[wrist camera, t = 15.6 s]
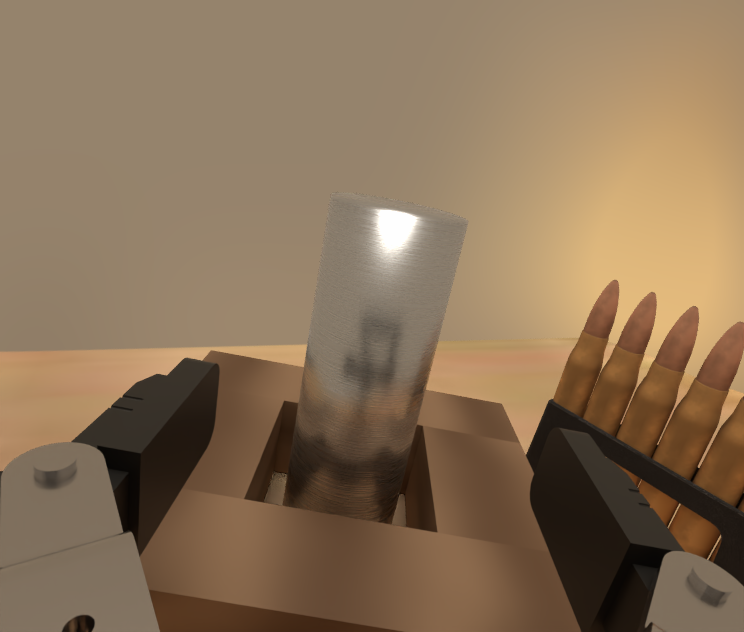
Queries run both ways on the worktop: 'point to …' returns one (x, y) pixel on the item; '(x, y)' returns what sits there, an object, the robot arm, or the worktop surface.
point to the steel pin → (369, 352)
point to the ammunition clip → (661, 423)
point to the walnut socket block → (353, 529)
